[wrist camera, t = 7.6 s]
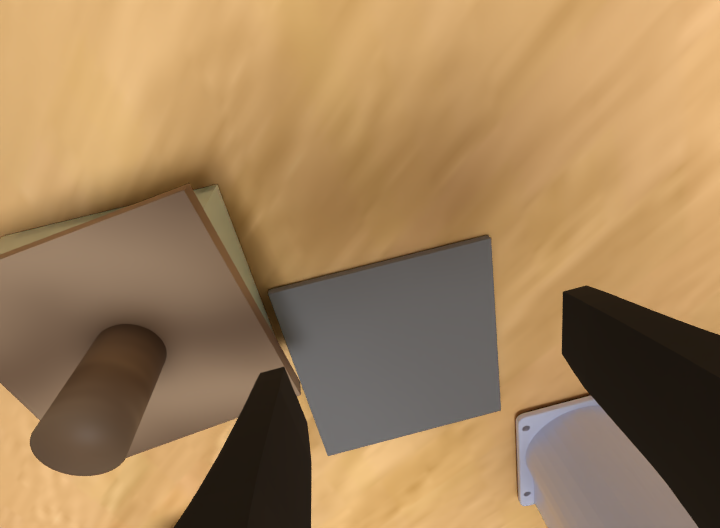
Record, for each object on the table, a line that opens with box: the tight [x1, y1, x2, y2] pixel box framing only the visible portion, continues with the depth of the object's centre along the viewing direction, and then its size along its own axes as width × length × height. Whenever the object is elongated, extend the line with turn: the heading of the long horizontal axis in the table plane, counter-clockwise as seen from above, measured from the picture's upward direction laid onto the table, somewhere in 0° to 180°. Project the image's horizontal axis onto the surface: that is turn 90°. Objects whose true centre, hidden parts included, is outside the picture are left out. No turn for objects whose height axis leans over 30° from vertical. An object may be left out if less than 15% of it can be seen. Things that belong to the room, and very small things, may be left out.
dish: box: [0, 184, 276, 338], centre depth 18 cm, size 9×9×3 cm
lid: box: [0, 183, 301, 476], centre depth 15 cm, size 10×10×5 cm
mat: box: [268, 235, 501, 456], centre depth 23 cm, size 12×11×1 cm
